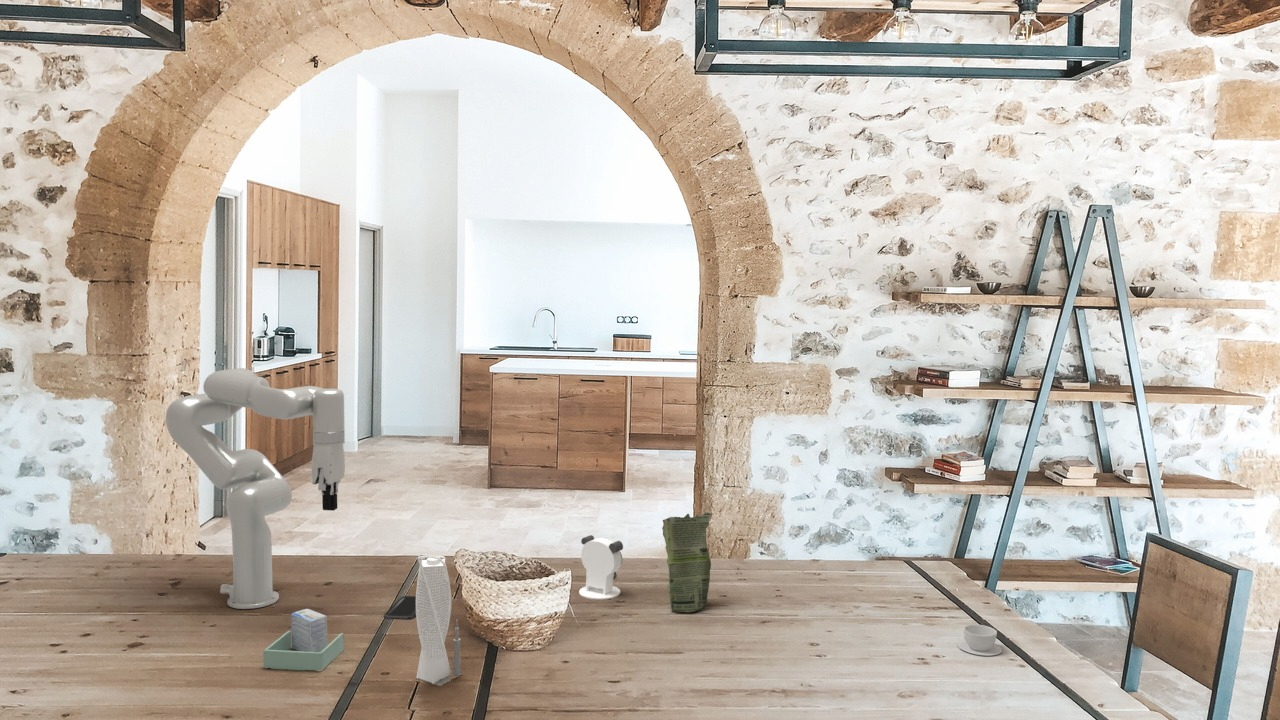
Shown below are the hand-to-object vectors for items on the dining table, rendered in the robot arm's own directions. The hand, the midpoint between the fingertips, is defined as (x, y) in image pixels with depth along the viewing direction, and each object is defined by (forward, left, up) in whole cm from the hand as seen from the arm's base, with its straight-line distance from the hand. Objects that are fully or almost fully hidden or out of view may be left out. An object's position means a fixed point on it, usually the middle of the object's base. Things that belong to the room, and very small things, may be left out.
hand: (330, 509), depth 236 cm
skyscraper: (+38, -34, -28) cm, 58 cm away
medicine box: (+5, -24, -27) cm, 36 cm away
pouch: (+90, +17, -27) cm, 96 cm away
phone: (+18, +6, -28) cm, 34 cm away
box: (+6, -28, -27) cm, 39 cm away
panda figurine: (+66, +25, -27) cm, 76 cm away
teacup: (+160, -3, -28) cm, 163 cm away
